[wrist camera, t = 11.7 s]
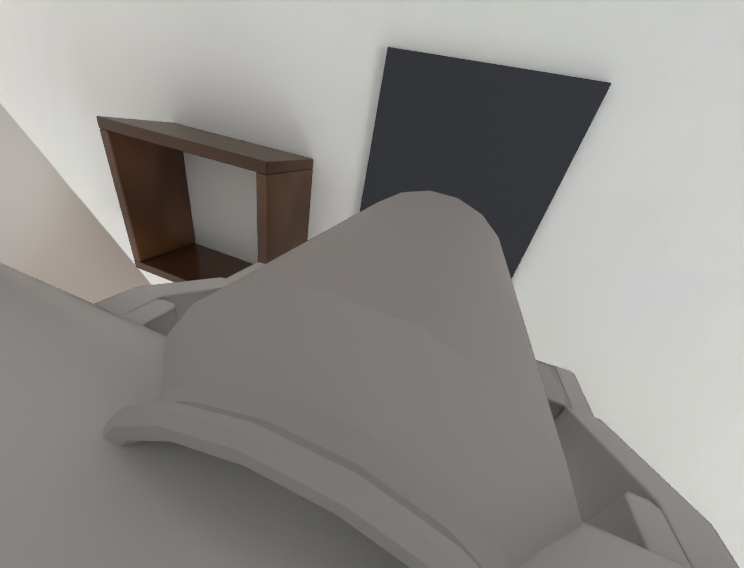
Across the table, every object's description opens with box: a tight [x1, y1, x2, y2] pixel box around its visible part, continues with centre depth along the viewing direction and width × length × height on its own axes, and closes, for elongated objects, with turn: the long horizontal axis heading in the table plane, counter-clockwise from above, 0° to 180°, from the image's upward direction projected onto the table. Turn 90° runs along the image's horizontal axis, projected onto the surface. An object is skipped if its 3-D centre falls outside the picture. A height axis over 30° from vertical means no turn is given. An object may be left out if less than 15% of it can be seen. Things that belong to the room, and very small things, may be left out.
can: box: [103, 191, 582, 568], centre depth 9 cm, size 8×8×12 cm
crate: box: [97, 116, 313, 282], centre depth 24 cm, size 13×15×6 cm
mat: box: [360, 47, 611, 279], centre depth 21 cm, size 20×13×1 cm, turn 169°
